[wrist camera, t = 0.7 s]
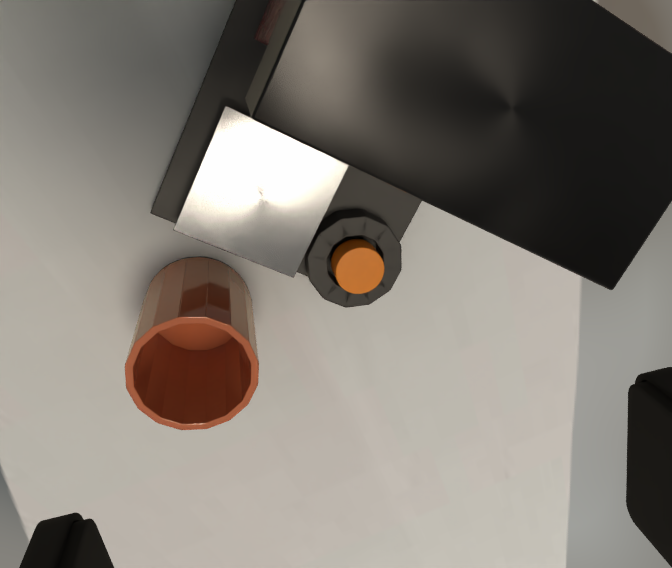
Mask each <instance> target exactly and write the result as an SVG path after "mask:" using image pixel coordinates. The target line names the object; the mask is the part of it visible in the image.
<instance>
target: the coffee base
mask: <svg viewBox="0 0 672 568" xmlns="http://www.w3.org/2000/svg"><path fill="white" fill-rule="evenodd" d="M268 3H269V0H236V2H235V4H234V7H233V9H232V12H231V14H230V17H229V19H228V21H227V24H226V26H225V29H224V31H223V34H222V36H221V39H220V41H219V44H218V46H217V49H216V51H215V54H214V56H213V59H212V61H211V64H210V66H209V68H208V71H207V73H206V76H205V78H204V81H203V83H202V86H201V88H200V91H199V93H198V96H197V98H196V101H195V103H194V106H193V108H192V111H191V113H190V115H189V118H188V120H187V123H186V125H185V128H184V130H183V133H182V135H181V138H180V140H179V143H178V145H177V148H176V150H175V153H174V155H173V158H172V160H171V162H170V165H169V167H168V170H167V172H166V175H165V177H164V180H163V182H162V185H161V187H160V190H159V192H158V195H157V197H156V200H155V202H154V205H153V207H152V210H151V214H154V215H156V216H159V217H161V218H164V219H166V220H169V221H171V222H174V223H176V222H177V220H178V217H179V215H180V212H181V210H182V208H183V205H184V203H185V201H186V198H187V196H188V193H189V191H190V189H191V186H192V184H193V181H194V179H195V177H196V174H197V172H198V170H199V167H200V165H201V162H202V160H203V158H204V155H205V153H206V150H207V148H208V146H209V143H210V141H211V139H212V136H213V134H214V131H215V129H216V127H217V124H218V122H219V119H220V117H221V115H222V112H223V110H224V108H225V105H226V106H229V107H231V108H233V109H235V110H237V111H239V112H241V113H243V114H245V115H247V116H250V117H251V115H250V112H249V110H248V107H247V104H246V101H245V97H246V95H247V92H248V90H249V88H250V85H251V83H252V81H253V78H254V76H255V74H256V71H257V69H258V67H259V64H260V62H261V60H262V57H263V55H264V53H265V50H266V48H267V46H266V45H264V44H262V43H260V42H259V41H257V40H255V39H254V36H255V34H256V31H257V29H258V27H259V24H260V22H261V19H262V17H263V15H264V12H265V10H266V8H267V5H268ZM421 201H422V200H420V199H418V198H416V197H414V196H412V195H410V194H408V193H406V192H403V191H401V190H399V189H397V188H395V187H393V186H391V185H389V184H387V183H385V182H382V181H380V180H378V179H376V178H374V177H372V176H370V175H368V174H366V173H364V172H361V171H359V170H357V169H355V168H353V167H351V166H348V168H347V170H346V172H345V174H344V176H343V178H342V180H341V182H340V184H339V186H338V188H337V190H336V192H335V194H334V197H333V199H332V201H331V203H330V205H329V207H328V209H327V211H326V213H325V215H324V217H323V219H322V221H321V223H320V225H319V227H318V229H317V231H316V233H315V235H314V237H313V239H312V241H311V243H310V245H309V247H308V249H307V251H306V253H305V255H304V257H303V259H302V262H301V264H300V266H299V268H298V270H297V272H298V273H301V274H303V275H306V276H308V278H309V280H310V282H311V283H312V284H313V286H314V287H315V288H316V290H317V291H318V292H319V294H320V295H321V296H322V298H324V299H325V300H328V301H330V302H333V303H335V304H338V305H341V306H343V307H354V306H362V305H369V304H371V303H372V302H374V301H375V300H377V299H378V298H380V297H381V296H383V295H384V294H386V293H387V292H388V291H389V290H391V288H392V286H393V284H394V283H395V281H396V279H397V277H398V275H399V273H400V272H401V268H402V267H401V244H400V243H399V242H400V240H401V239H402V237H403V235H404V233H405V231H406V229H407V227H408V225H409V224H410V222H411V220H412V218H413V216H414V214H415V212H416V211H417V209H418V207H419V205H420V203H421ZM350 239H362V240H365V241H367V242H369V243H370V244H372V245H373V247H374V248H375V249H376V251H377V252H378V253H379V255H380V256H381V258H382V260H383V262H384V275H383V278H382V280H381V281H380V283H379V284H378V285H377V286H376V287H375V288H374V289H373V290H371V291H369V292H366V293H362V294H354V293H350V292H347V291H346V290H344V289H343V288H342V287H341V286H340V285H339V283H338V282H337V280H336V277H335V275H334V273H333V271H332V268H331V258H332V255H333V253H334V251H335V249H336V248H337V247H338V246H339V245H340V244H342V243H343V242H345V241H347V240H350Z"/></svg>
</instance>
